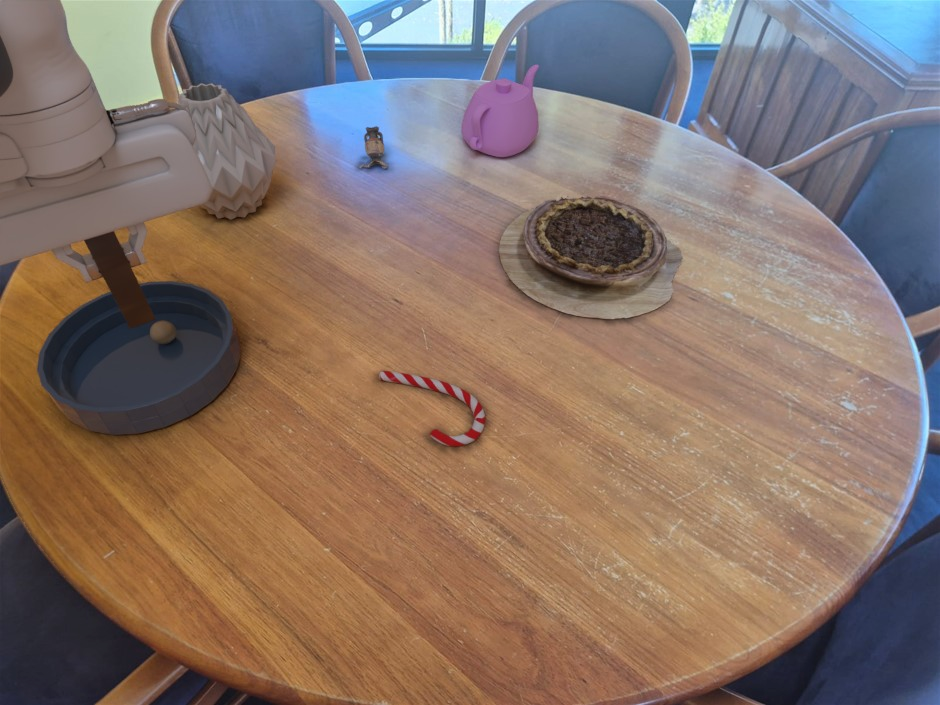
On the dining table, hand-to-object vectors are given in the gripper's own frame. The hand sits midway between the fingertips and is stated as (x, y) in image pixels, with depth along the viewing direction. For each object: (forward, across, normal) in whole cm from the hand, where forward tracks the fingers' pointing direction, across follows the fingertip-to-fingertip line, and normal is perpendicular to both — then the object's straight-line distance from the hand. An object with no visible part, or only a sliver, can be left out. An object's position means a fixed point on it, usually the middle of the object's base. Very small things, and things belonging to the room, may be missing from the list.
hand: (115, 269), depth 56 cm
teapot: (+22, -70, -32) cm, 79 cm away
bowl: (+21, +1, -9) cm, 23 cm away
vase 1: (+22, -20, -37) cm, 47 cm away
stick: (+6, 0, 0) cm, 6 cm away
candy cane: (+22, -24, +15) cm, 35 cm away
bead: (+19, -2, -12) cm, 23 cm away
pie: (+22, -60, +4) cm, 64 cm away
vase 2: (+22, -46, -37) cm, 63 cm away
